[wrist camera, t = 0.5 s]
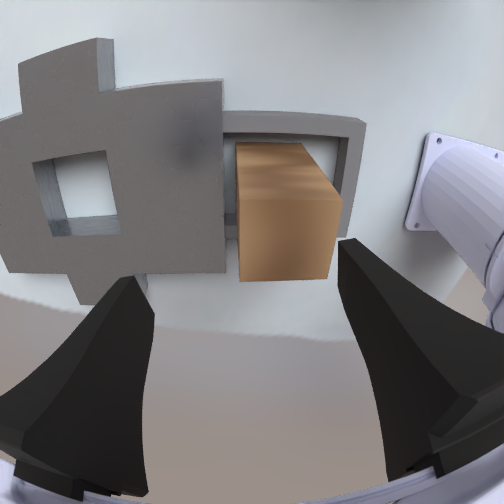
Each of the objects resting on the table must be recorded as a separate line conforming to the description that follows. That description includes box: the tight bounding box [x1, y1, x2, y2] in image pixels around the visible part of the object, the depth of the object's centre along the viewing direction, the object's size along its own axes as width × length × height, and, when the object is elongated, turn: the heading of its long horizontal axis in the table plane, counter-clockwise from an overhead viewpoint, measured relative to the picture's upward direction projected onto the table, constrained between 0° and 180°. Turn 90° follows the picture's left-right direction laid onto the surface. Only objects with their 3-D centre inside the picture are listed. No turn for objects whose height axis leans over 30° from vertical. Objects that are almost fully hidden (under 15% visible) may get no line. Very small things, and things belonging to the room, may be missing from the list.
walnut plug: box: [236, 142, 343, 282], centre depth 16 cm, size 4×4×8 cm
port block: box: [0, 38, 226, 305], centre depth 17 cm, size 18×18×2 cm
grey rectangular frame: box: [223, 111, 366, 239], centre depth 18 cm, size 11×8×2 cm
